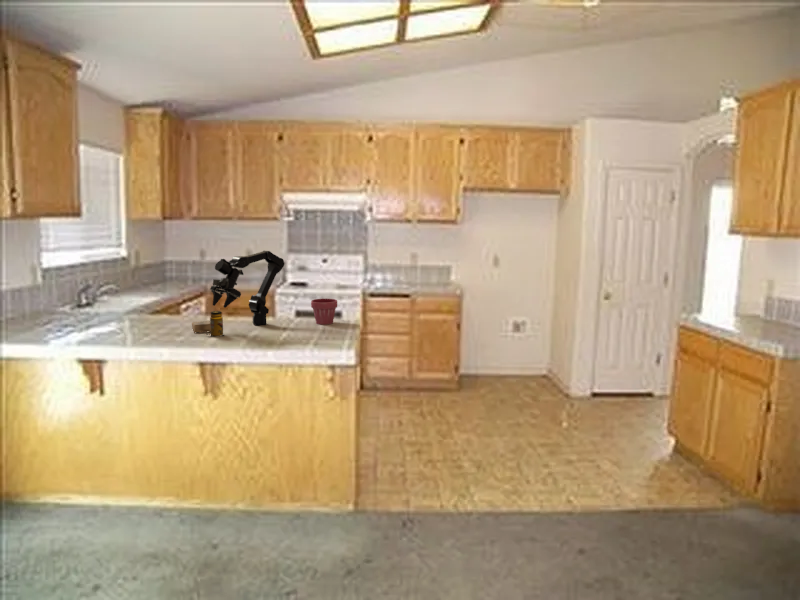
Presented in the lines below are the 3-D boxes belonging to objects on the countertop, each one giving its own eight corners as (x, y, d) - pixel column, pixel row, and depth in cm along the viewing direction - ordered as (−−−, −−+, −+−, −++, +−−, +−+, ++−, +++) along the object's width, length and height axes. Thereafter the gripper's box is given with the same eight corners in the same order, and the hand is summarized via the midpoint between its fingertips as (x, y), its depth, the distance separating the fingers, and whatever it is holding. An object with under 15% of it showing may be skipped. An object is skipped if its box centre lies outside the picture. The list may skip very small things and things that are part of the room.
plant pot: (314, 326, 349) (313, 302, 347) (309, 321, 362) (308, 298, 360) (340, 324, 353) (340, 301, 352) (334, 320, 367) (334, 297, 365)
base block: (210, 328, 341) (209, 320, 340) (212, 331, 333) (212, 323, 332) (192, 329, 337) (191, 321, 336) (194, 332, 329) (194, 325, 328)
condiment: (225, 335, 323) (225, 312, 321) (208, 337, 318) (208, 313, 316) (221, 333, 329) (220, 309, 327) (204, 335, 324) (203, 311, 322)
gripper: (208, 270, 335) (196, 297, 331) (230, 273, 323) (218, 301, 319) (224, 280, 343) (212, 306, 339) (246, 283, 331) (234, 311, 327)
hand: (218, 306), depth 331 cm, fingers open, 9 cm apart
